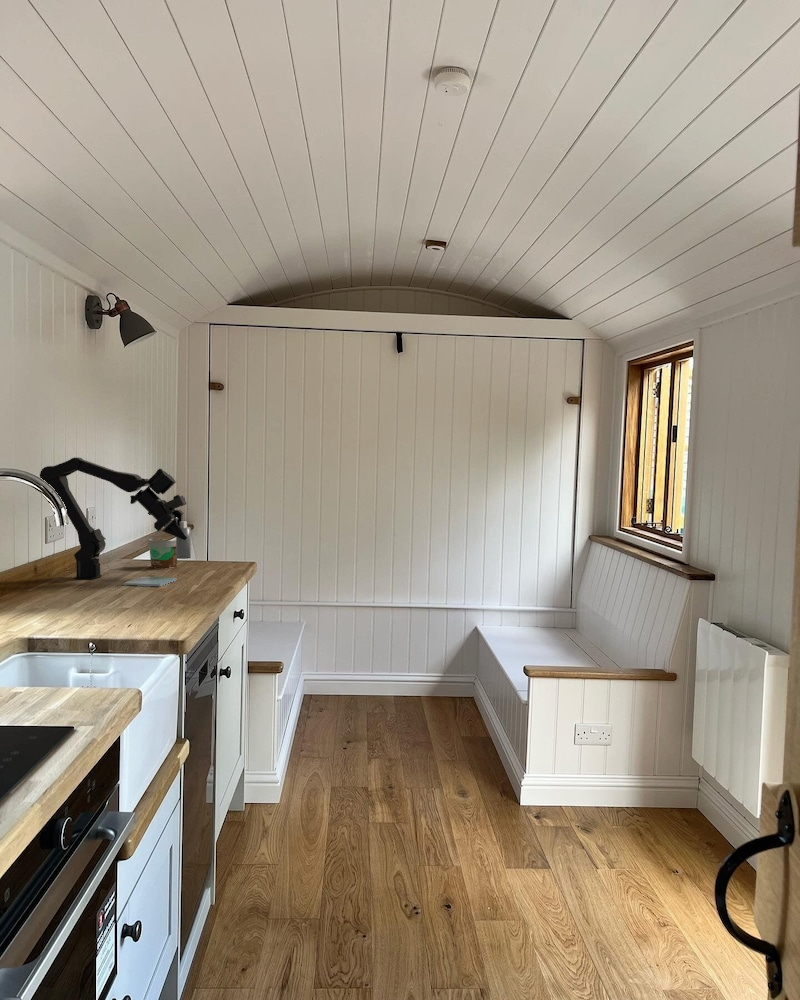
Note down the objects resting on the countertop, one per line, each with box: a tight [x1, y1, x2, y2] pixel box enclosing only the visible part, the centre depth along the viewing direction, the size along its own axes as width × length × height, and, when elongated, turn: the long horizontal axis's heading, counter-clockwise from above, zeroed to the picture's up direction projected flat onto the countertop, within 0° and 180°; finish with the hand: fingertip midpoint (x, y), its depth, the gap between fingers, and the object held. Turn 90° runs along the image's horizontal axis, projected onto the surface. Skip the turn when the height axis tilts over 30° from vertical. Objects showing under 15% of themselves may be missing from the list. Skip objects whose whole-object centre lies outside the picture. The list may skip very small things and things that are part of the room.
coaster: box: [123, 576, 178, 587], centre depth 246 cm, size 12×12×1 cm
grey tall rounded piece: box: [175, 520, 192, 560], centre depth 255 cm, size 5×5×12 cm
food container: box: [146, 538, 178, 568], centre depth 276 cm, size 12×6×10 cm, turn 73°
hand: (187, 537), depth 255 cm, fingers closed on grey tall rounded piece, 5 cm apart
